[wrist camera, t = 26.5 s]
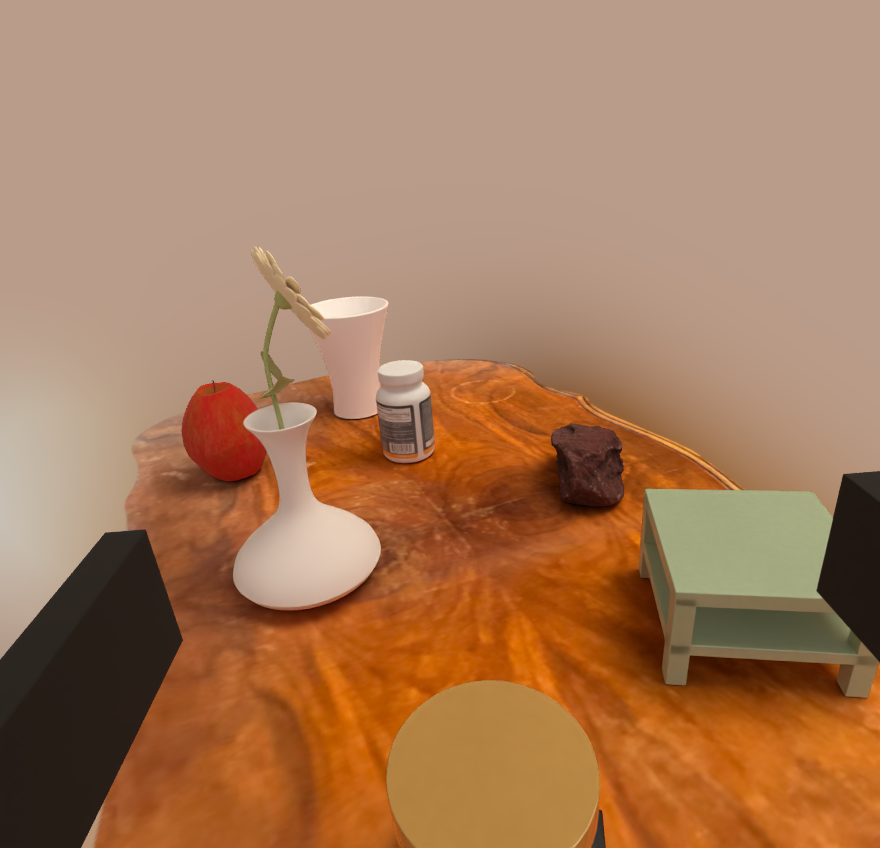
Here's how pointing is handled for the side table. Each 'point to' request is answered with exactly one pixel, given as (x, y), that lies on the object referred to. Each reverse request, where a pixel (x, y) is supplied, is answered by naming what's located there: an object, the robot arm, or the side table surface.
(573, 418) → the side table surface
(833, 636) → the shelf
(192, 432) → the apple
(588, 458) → the rock
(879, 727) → the side table surface
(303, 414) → the flower in vase
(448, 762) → the jar
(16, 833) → the robot arm
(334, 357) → the cup
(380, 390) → the pill bottle
